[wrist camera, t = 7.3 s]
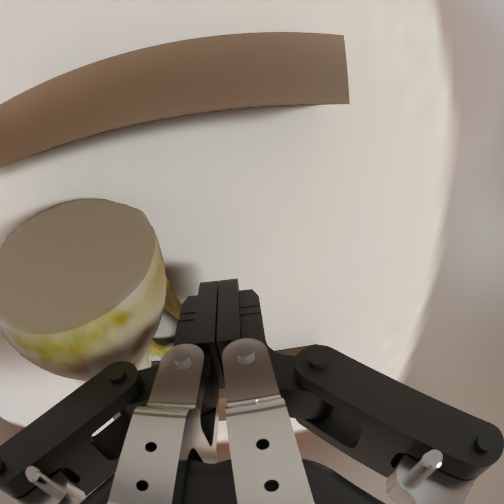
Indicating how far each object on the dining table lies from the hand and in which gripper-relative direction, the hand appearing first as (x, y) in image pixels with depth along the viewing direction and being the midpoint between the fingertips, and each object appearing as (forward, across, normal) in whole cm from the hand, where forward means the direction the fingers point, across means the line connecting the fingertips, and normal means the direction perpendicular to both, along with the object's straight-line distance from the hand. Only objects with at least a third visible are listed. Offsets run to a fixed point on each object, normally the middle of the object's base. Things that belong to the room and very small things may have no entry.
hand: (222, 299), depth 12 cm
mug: (+2, +5, 0) cm, 6 cm away
